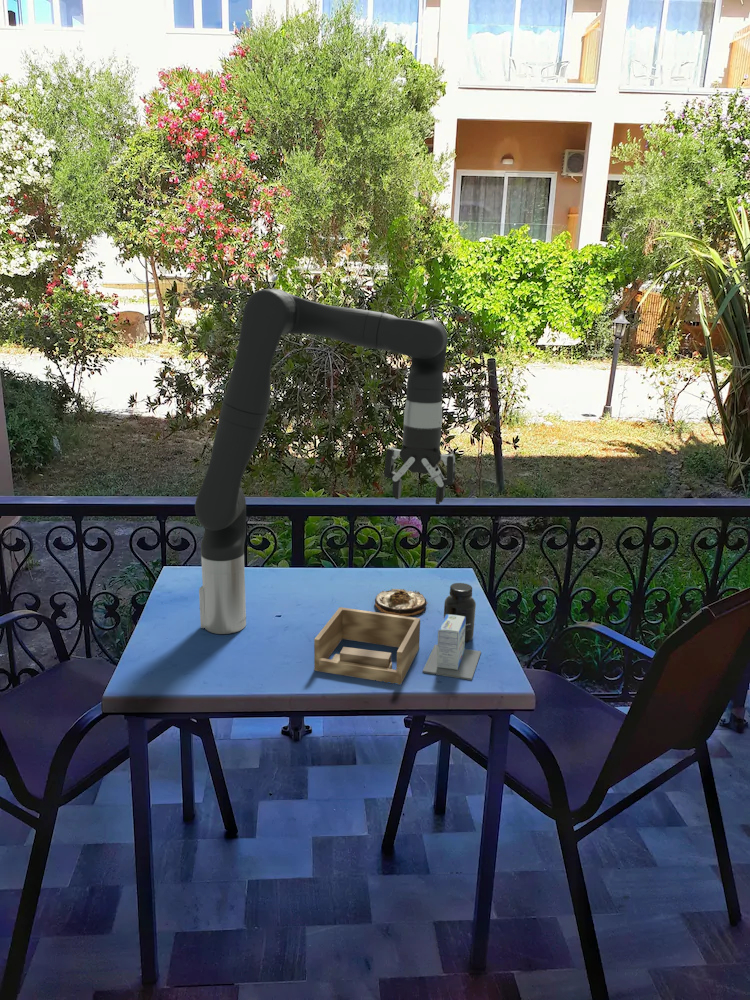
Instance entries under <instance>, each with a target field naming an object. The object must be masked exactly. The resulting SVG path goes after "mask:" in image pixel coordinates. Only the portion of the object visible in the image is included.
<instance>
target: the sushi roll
mask: <svg viewBox="0 0 750 1000" xmlns="http://www.w3.org/2000/svg"><path fill="white" fill-rule="evenodd" d="M374 602H375V604H374V607H376V608H377V609H378V611H380V613H385V614H392V615H399V616H406V617H413V616H418V615H421V614H422V612H423V611H425V609H426V608H427V605H428V601H427V599H426V598H425V596H424V594H423V593H421V592H420V591H417V590H414V591H413V590H410V591H409V590H408V589H405V588H403V589H402V588H391V589H390V590H389V589H388V590H382V591H380V592H379V593H377V595H376V596H375V598H374Z"/></svg>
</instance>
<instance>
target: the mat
mask: <svg viewBox="0 0 750 1000" xmlns="http://www.w3.org/2000/svg"><path fill="white" fill-rule="evenodd" d="M437 649H438V644H434V645H433V647H432V649H431V653H430V654H429V656H428V658H427V660H426V663H425V665H424V667H423V669H422V673H423V674H428V675H430V674H431V675H435V674H436V676H441V675H442V676H444V677H448V678H455V679H460V678H461V679H462V680H468V681H472V680H473V678H474V675H475V671H476V669H477V666H478V662H479V660H480V656H481V654H482V651H481V650H475V649H474V650H473V649H467V648H464V654H463V657H462V660H461V662H460V665H459V668H458V670H453V669H446V668H439V667H437ZM461 679H460V680H461Z"/></svg>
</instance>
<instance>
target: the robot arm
mask: <svg viewBox="0 0 750 1000" xmlns="http://www.w3.org/2000/svg"><path fill="white" fill-rule="evenodd" d="M239 334H240V335H239V341H238V348H237V352H236V357H235V360H234V362H233V363H234V364H233V367H232V369H231V372H230V377H229V380H228V384H227V387H226V391H225V394H224V398H223V401H222V405H221V409H220V413H219V418H218V422H217V427H216V430H215V436H214V439H213V445H212V451H211V455H210V459H209V464H208V466H207V467H208V468H207V471H206V473H205V475H204V479H203V482H202V484H201V485H200V486H201V487H200V488H199V491H198V494H197V497H196V499H195V503H194V510H195V516H196V519H197V521H198V522H199V524H200V525H201V526H202V527H203V528H204V532H203V536H202V539H201V543H200V554H201V557H200V558H201V560H200V561H201V579H202V586H200V587H199V589H198V594H199V596H198V599H199V617H200V629H204V628H205V630H206V631H207V632H209V633H212V634H216V635H217V634H218V635H228V634H234V633H237V632H240V631H242V630H243V629H245V627H246V626H247V613H246V612H247V611H246V610H247V609H246V608H247V607H246V605H247V603H246V577H245V573H246V571H245V541H246V538H247V537H246V535H247V503H246V502H247V501H246V496H245V494H244V491H243V488H241V483H242V479H243V476H244V472H245V470H246V468H247V466H248V464H249V463H250V462H249V461H250V460H251V458H252V455H253V454H254V452H255V449H256V448H257V445H258V443H259V440H260V438H261V435H262V433H263V431H264V427H265V423H266V420H267V416H268V411H269V408H270V402H271V371H272V365H273V360H274V357H275V354H276V350H277V347H278V344H279V342H280V339H281V337H282V336H283V335H286V334H287V335H288V334H289V335H290V334H298V335H299V334H300V335H302V334H305V335H306V334H307V335H315V336H321V337H325V338H328V339H333V340H336V341H340V342H343V343H346V344H350V345H352V346H353V345H354V346H358V347H363V348H369V349H374V350H380V351H391V352H393V353H397V354H400V355H403V356H407V357H411V364H410V365H411V367H410V370H409V373H408V376H407V381H406V382H407V383H406V400H405V405H404V406H405V407H404V413H403V429H402V431H403V433H402V447H401V449H398V448H396V447H394V446H391V447H389V448H388V449H387V450H386V453H385V455H386V456H385V463H384V472H383V475H384V477H385V478H389V479H390V480H391V481H392V489H391V491H392V493H391V494H392V496H393V497H394V499H395V500H400V498H401V496H402V481H403V480H402V477H403V476H404V475H405V473H406V472H407V471H410V473H415V474H416V473H419V474H423V475H424V474H425V475H427V474H429V475H430V476H431V478H432V479H433V480H434V482H435V483H436V484H437V486H436V490H435V491H436V492H435V493H436V494H435V505H440V504H441V503H443V501H444V500H445V495H446V494H445V493H446V486H452V485H453V484H454V483H455V481H456V455H455V453H450V454H443V453H441V439H442V437H441V436H442V424H443V402H442V401H443V388H444V387H443V386H444V385H443V384H444V381H443V379H444V378H443V375H444V369H445V362H446V357H447V350H448V349H447V347H448V333H447V330H446V328H445V326H444V325H443V324H442V323H441V322H440V321H438V320H435V319H431V318H430V319H424V320H415V319H407V318H401V317H397V316H396V315H393V314H390V313H387V312H386V313H385V312H380V311H375V310H374V311H373V310H367V309H361V308H352V307H344V306H337V305H331V304H330V305H329V304H324V303H319V302H316V301H312V300H308V299H305V298H303V297H300V296H297V295H294V294H291V293H288V292H286V291H285V290H282V289H278V288H264V289H259V290H257V291H255V292H254V293H253V294H252V295H250V296H249V298H248V299H247V301H246V303H245V305H244V308H243V314H242V320H241V327H240V333H239ZM398 456H400V459H401V460H402V461H403V463H404V464H403V465H402V466H401V467H399V469H398V471H394V465H395V460H396V459H398ZM441 461H442V462H443V464H444V466H446V477H445V476H444V475H443V473H442V471H441V469H440V467H439V466H438V464H439V463H440V462H441Z"/></svg>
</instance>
